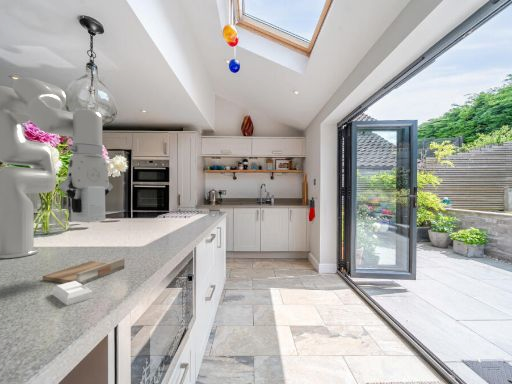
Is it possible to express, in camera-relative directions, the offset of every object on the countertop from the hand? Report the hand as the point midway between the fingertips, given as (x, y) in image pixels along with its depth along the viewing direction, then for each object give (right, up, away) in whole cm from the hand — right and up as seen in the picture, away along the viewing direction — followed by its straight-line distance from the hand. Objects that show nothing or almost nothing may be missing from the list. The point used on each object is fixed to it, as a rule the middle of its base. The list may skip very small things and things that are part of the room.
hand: (88, 210), depth 79 cm
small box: (0, -3, 0) cm, 3 cm away
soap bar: (+8, -19, -19) cm, 28 cm away
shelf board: (+2, -18, -4) cm, 18 cm away
